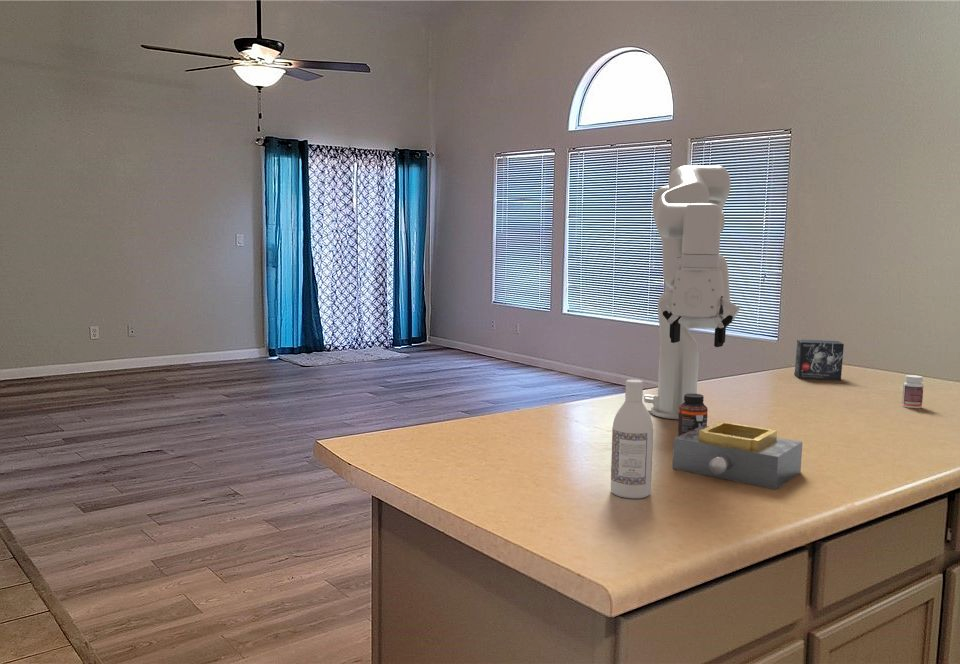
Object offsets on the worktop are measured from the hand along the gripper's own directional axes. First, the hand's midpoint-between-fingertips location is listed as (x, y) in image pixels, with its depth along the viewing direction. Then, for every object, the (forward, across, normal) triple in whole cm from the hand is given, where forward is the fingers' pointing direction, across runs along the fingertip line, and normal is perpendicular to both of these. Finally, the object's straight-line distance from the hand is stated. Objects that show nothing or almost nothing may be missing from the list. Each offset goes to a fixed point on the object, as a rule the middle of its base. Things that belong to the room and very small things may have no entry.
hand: (696, 344), depth 171 cm
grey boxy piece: (+22, +14, -12) cm, 29 cm away
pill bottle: (+22, +28, +79) cm, 87 cm away
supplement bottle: (+22, 0, 0) cm, 22 cm away
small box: (+22, -5, +109) cm, 111 cm away
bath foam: (+22, +5, -37) cm, 43 cm away
